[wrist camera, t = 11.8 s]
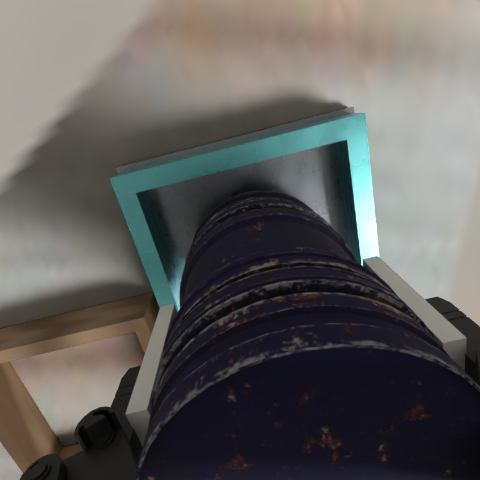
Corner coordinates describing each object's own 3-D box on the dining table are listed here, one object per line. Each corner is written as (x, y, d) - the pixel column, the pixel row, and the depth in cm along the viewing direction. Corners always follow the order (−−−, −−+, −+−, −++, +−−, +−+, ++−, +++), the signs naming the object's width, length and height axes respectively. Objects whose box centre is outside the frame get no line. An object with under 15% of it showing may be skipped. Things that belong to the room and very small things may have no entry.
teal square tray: (187, 348, 28) (183, 378, 25) (120, 166, 23) (102, 174, 19) (370, 306, 28) (390, 331, 24) (348, 107, 22) (369, 106, 19)
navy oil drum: (314, 167, 20) (509, 279, 6) (345, 296, 24) (518, 552, 10) (164, 217, 21) (51, 418, 7) (216, 336, 25) (208, 628, 11)
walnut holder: (57, 456, 32) (38, 494, 29) (-22, 333, 27) (-56, 364, 24) (205, 424, 32) (202, 459, 28) (153, 292, 26) (143, 317, 23)
